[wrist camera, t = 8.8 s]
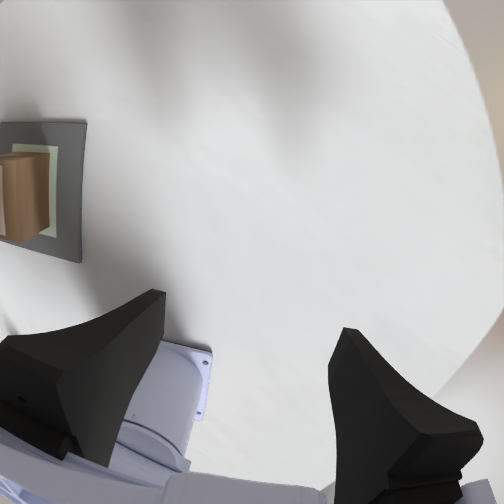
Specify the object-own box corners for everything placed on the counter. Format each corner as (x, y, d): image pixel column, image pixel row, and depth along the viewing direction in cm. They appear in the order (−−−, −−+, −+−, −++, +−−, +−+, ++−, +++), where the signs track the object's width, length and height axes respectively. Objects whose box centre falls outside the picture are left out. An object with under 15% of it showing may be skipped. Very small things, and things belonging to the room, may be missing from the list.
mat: (81, 261, 24) (78, 263, 23) (2, 239, 24) (-1, 240, 23) (87, 123, 20) (83, 123, 19) (1, 122, 20) (-2, 122, 19)
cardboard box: (49, 153, 20) (15, 160, 16) (49, 226, 22) (18, 244, 19) (16, 151, 20) (-18, 159, 16) (17, 219, 23) (-13, 235, 19)
